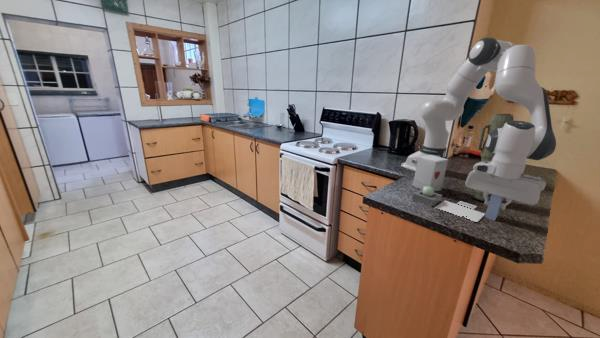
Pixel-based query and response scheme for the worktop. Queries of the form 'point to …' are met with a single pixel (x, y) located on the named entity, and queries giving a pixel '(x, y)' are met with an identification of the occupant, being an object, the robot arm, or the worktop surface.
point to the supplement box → (430, 172)
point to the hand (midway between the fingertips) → (494, 206)
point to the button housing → (427, 198)
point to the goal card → (467, 205)
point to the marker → (493, 207)
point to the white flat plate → (460, 211)
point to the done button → (428, 191)
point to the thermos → (486, 156)
